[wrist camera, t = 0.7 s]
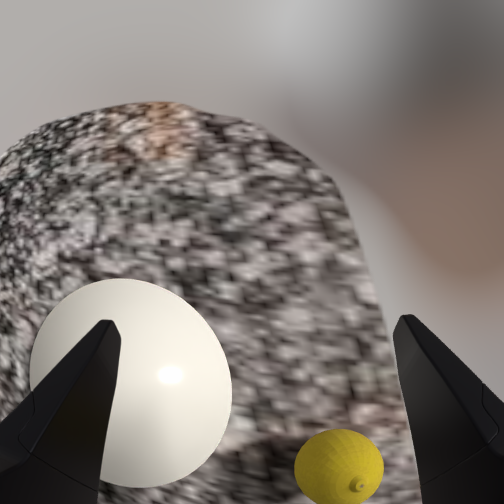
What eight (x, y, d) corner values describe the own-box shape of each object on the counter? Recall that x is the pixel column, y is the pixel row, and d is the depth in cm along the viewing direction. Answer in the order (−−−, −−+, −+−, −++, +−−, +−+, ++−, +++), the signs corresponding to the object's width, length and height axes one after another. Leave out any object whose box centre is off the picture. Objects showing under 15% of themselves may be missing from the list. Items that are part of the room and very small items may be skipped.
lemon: (284, 488, 19) (311, 533, 12) (284, 424, 21) (314, 448, 14) (351, 479, 20) (400, 512, 12) (353, 417, 22) (407, 432, 14)
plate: (262, 453, 20) (264, 457, 19) (75, 492, 17) (69, 496, 16) (192, 257, 25) (190, 252, 24) (21, 311, 22) (14, 308, 21)
